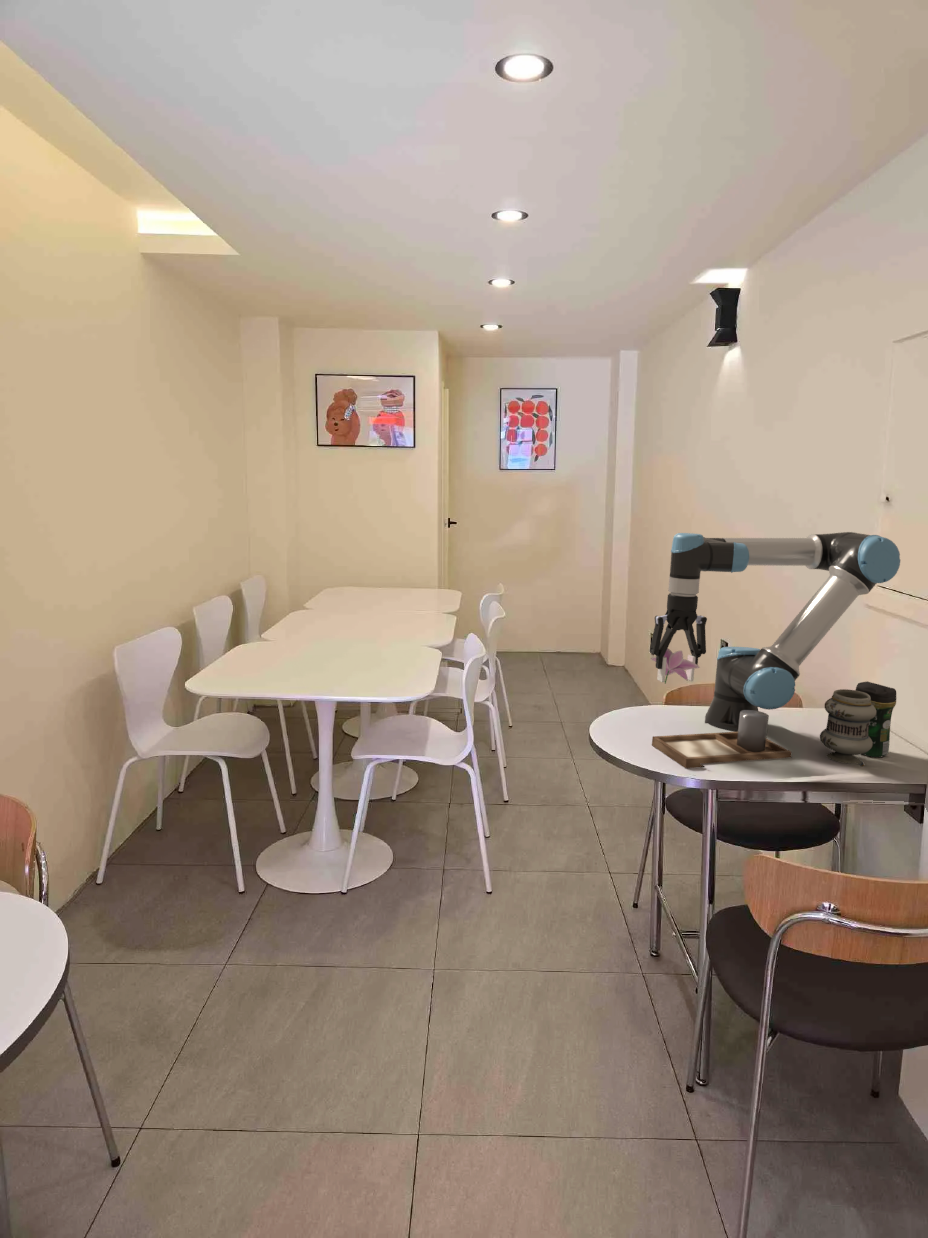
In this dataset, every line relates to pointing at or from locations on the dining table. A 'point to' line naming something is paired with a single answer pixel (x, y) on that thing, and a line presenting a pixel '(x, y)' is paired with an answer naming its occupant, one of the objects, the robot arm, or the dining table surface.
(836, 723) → the apothecary jar
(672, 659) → the lily
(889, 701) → the coffee jar
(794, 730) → the dining table surface
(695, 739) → the tray
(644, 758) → the dining table surface
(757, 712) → the grey rounded cylinder
